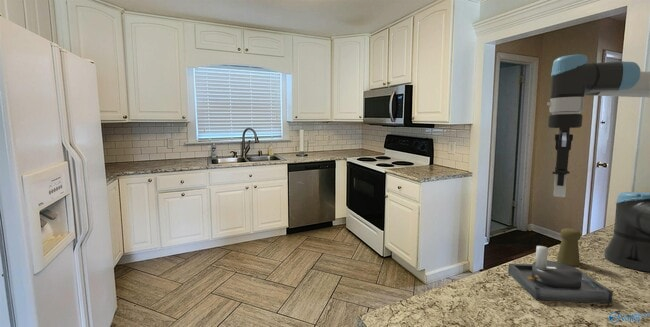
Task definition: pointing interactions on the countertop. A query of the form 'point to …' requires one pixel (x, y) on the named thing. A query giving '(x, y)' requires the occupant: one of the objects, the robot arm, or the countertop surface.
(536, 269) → the lever
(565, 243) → the cork
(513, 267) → the dark grey tray
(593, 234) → the countertop surface
